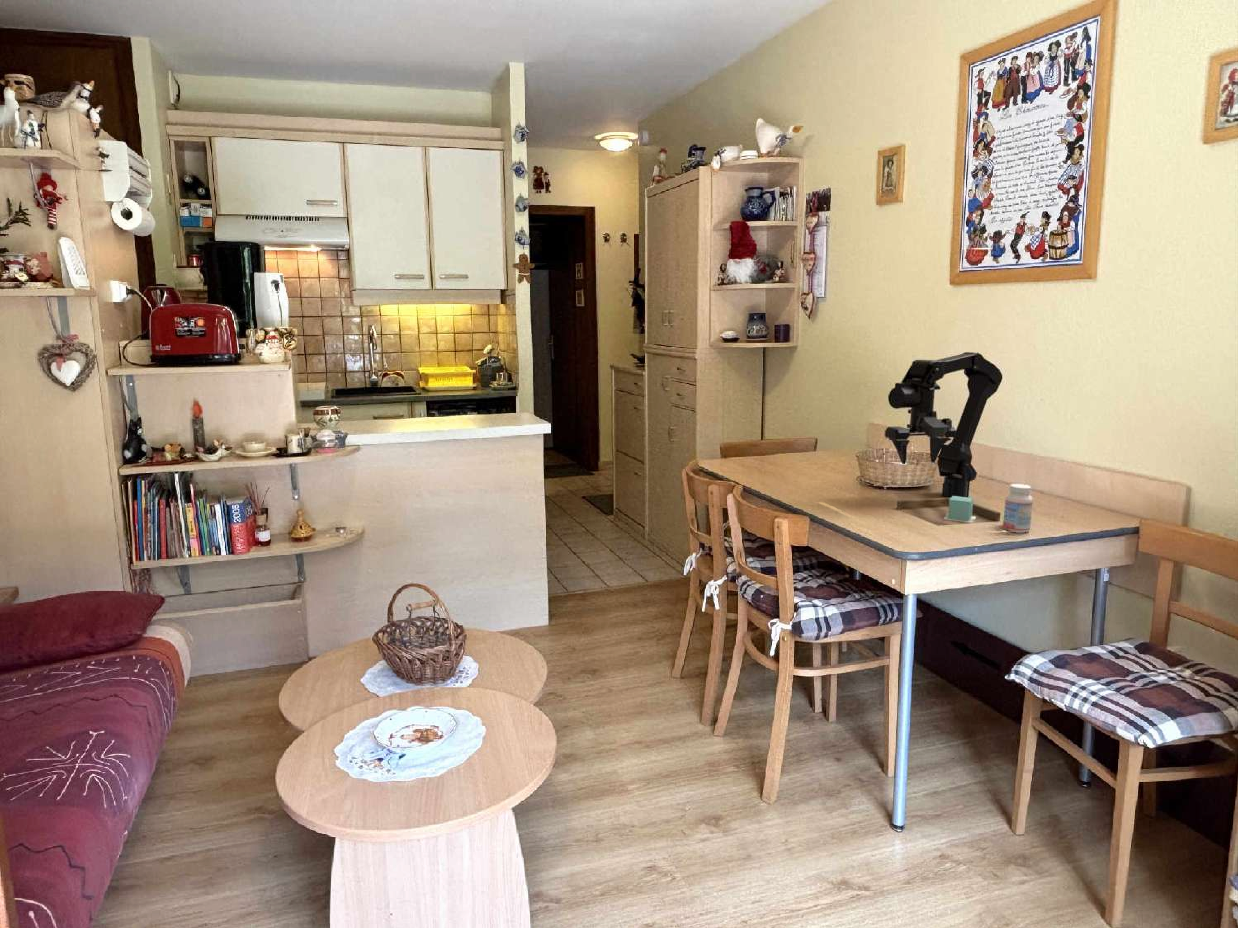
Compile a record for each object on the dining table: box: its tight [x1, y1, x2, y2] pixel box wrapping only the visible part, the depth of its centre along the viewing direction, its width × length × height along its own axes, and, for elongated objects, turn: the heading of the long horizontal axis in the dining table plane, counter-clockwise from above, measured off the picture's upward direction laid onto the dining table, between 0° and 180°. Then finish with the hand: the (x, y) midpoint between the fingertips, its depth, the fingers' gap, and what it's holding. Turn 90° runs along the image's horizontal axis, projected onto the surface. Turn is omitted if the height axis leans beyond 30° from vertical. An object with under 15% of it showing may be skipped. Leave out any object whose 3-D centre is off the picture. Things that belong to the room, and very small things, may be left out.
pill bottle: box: [1002, 483, 1034, 534], centre depth 203 cm, size 6×6×11 cm
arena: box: [896, 497, 1001, 526], centre depth 216 cm, size 18×18×3 cm
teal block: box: [948, 496, 974, 521], centre depth 212 cm, size 5×5×5 cm
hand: (918, 463), depth 227 cm, fingers open, 9 cm apart
